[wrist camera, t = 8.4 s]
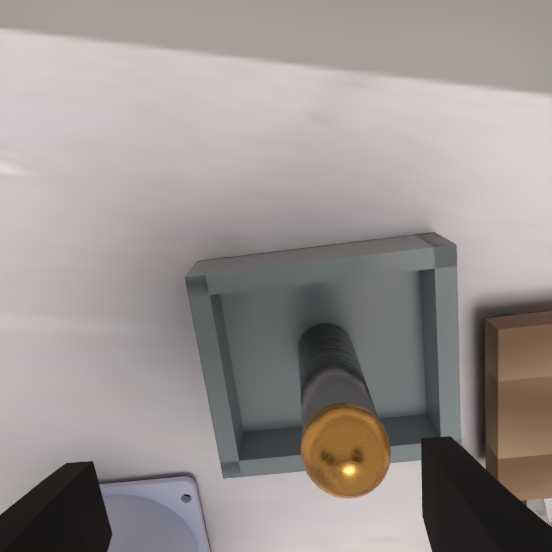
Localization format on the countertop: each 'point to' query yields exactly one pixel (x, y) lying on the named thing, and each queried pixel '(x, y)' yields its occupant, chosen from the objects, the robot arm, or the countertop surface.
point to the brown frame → (519, 402)
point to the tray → (335, 310)
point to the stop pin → (339, 416)
